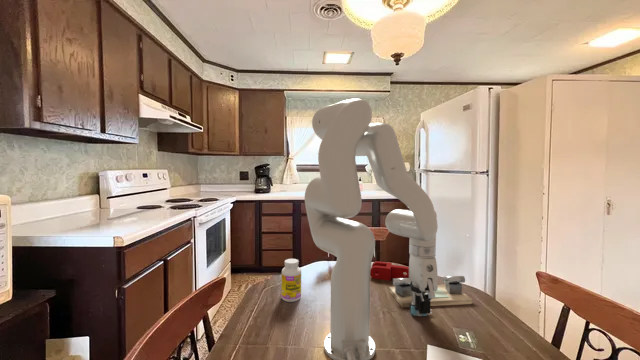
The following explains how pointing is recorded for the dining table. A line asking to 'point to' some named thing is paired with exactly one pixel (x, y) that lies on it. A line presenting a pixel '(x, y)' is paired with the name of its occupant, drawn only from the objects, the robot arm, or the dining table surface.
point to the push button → (416, 300)
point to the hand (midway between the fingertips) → (420, 308)
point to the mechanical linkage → (388, 271)
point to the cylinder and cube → (451, 281)
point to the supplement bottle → (291, 281)
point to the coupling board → (435, 298)
